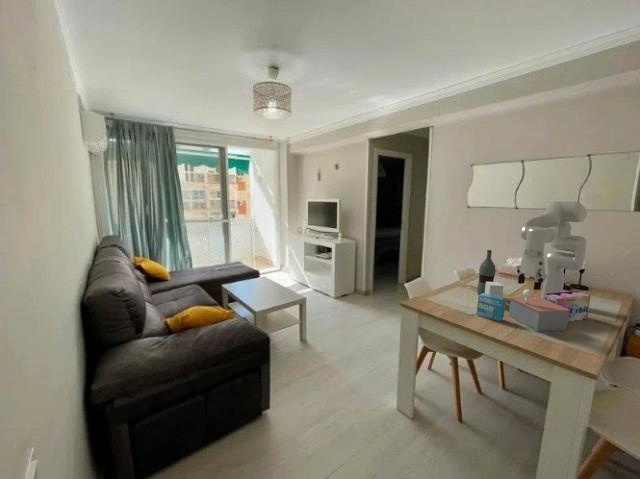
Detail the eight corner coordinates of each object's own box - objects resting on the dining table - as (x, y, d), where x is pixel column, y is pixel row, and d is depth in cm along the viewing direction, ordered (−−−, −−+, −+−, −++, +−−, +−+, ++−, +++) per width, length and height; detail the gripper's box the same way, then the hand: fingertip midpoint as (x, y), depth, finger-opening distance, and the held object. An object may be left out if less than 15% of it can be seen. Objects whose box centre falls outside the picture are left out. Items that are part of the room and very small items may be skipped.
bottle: (494, 298, 181) (499, 252, 176) (478, 296, 184) (483, 251, 179) (490, 293, 190) (495, 249, 185) (475, 291, 193) (480, 248, 188)
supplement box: (501, 306, 169) (504, 286, 166) (487, 305, 170) (490, 285, 168) (496, 301, 176) (498, 282, 174) (483, 300, 177) (485, 281, 175)
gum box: (573, 313, 160) (577, 290, 158) (589, 319, 153) (594, 295, 150) (539, 317, 155) (543, 293, 153) (554, 323, 147) (558, 298, 145)
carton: (535, 314, 158) (537, 297, 156) (566, 330, 140) (569, 311, 138) (508, 315, 156) (511, 298, 154) (536, 331, 138) (539, 312, 137)
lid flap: (537, 297, 156) (539, 283, 155) (570, 311, 138) (572, 295, 137) (509, 298, 154) (510, 283, 153) (538, 312, 136) (540, 296, 135)
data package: (476, 315, 156) (478, 294, 154) (478, 312, 159) (480, 292, 157) (501, 322, 148) (504, 300, 146) (503, 319, 151) (506, 298, 149)
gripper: (556, 257, 133) (550, 292, 135) (526, 249, 150) (521, 281, 152) (541, 257, 132) (536, 292, 135) (513, 249, 149) (508, 281, 152)
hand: (528, 286), depth 144 cm, fingers open, 9 cm apart
